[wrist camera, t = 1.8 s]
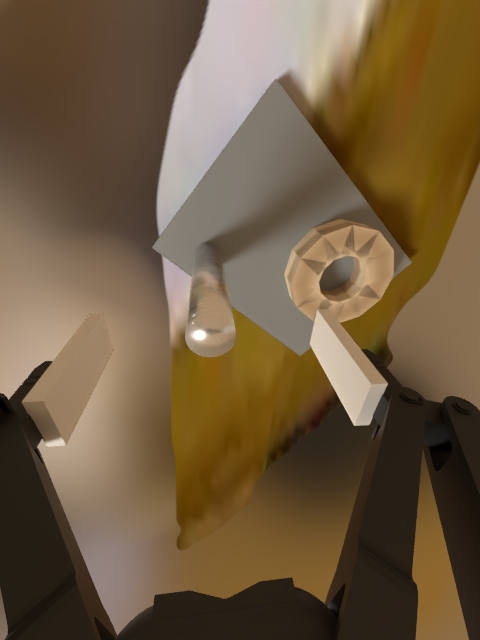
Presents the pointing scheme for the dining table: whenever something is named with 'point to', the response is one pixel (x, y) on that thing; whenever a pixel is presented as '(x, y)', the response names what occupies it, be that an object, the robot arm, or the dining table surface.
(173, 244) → the board
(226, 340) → the peg
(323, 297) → the tan faceted ring
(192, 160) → the dining table surface
